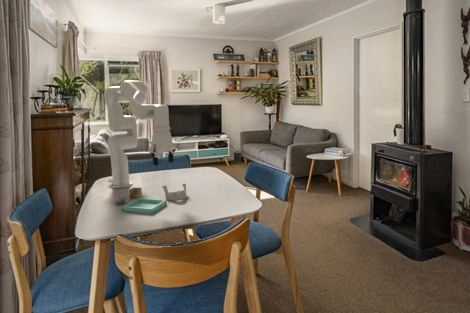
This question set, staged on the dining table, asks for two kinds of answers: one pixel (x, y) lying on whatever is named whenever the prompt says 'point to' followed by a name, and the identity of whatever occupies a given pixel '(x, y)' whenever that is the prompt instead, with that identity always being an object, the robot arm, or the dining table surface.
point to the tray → (144, 205)
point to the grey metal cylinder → (120, 198)
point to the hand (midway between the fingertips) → (163, 163)
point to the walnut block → (135, 193)
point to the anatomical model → (175, 194)
